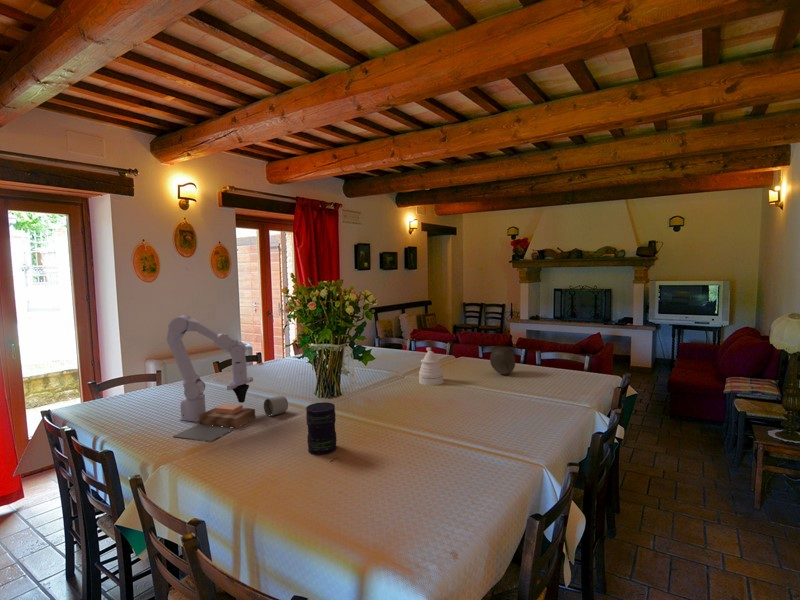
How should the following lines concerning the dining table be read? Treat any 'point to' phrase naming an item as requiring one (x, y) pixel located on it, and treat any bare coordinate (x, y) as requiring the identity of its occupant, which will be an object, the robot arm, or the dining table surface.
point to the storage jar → (321, 428)
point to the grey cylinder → (275, 405)
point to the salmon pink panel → (228, 408)
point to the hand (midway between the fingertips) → (241, 402)
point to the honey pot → (430, 370)
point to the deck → (227, 418)
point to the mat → (204, 432)
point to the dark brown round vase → (502, 360)
